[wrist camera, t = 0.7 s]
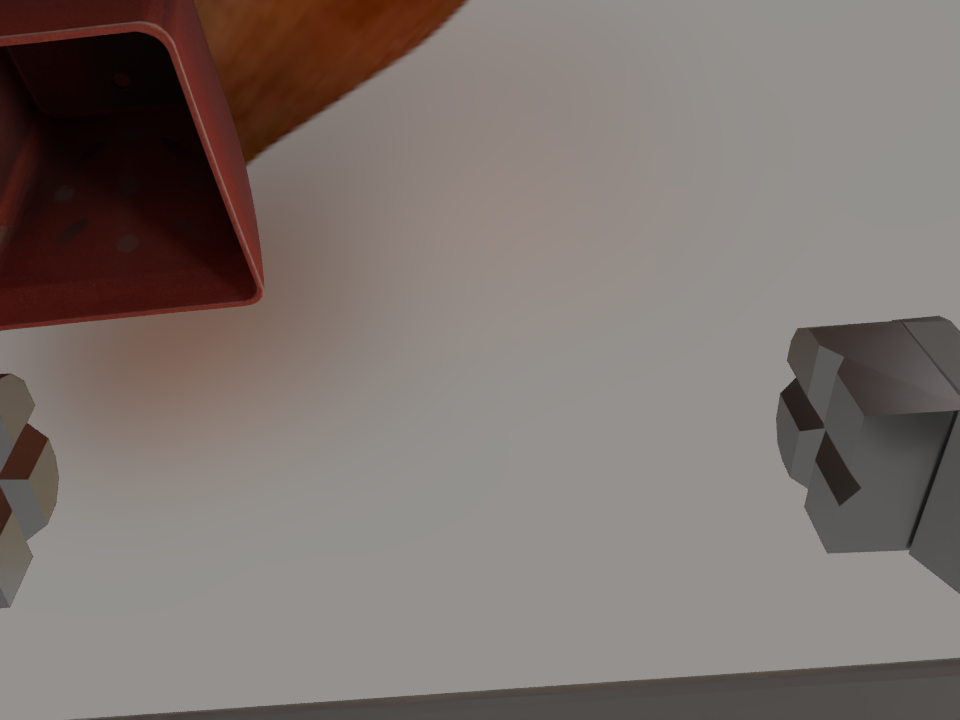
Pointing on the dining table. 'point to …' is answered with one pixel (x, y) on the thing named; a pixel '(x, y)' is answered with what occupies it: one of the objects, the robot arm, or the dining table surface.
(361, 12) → the dining table surface
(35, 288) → the plant pot
